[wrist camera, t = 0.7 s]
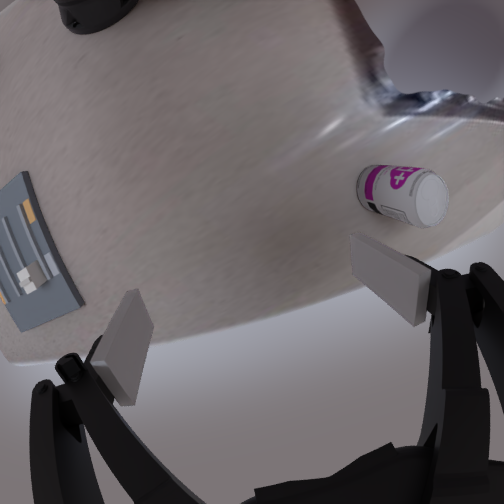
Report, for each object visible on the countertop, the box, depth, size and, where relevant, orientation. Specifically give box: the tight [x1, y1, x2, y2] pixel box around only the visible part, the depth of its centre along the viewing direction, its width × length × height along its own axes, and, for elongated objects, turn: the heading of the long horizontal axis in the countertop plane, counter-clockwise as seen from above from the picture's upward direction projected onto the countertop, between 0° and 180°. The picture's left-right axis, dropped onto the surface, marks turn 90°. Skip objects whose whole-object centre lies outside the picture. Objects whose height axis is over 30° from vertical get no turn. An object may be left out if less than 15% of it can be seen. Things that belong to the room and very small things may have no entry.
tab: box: [17, 260, 47, 294], centre depth 34 cm, size 4×3×5 cm
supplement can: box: [357, 165, 449, 228], centre depth 36 cm, size 8×8×15 cm
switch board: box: [0, 171, 84, 333], centre depth 35 cm, size 26×20×3 cm
